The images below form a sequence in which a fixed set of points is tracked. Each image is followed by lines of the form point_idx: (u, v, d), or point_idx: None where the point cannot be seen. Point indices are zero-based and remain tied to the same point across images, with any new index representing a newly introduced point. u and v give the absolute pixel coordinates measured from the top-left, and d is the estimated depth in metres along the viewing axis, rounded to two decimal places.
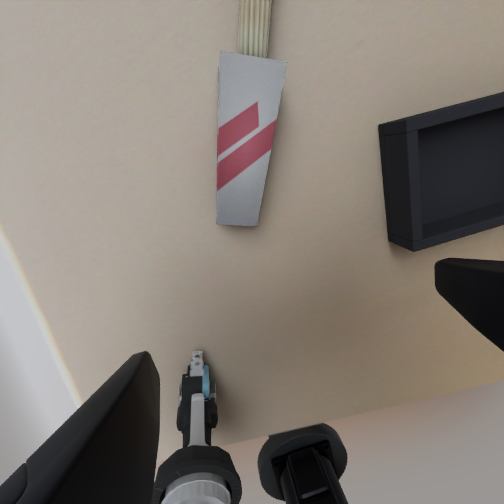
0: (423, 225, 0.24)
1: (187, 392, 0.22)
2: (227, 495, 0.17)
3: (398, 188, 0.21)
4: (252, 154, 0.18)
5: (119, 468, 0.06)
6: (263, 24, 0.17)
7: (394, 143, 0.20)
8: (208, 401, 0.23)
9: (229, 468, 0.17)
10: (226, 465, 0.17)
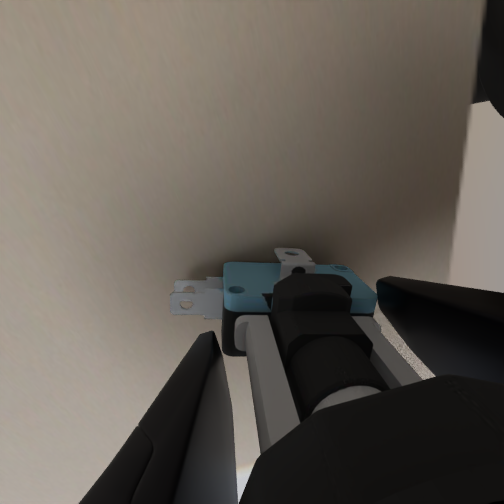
0: None
1: None
2: None
3: None
4: None
5: (216, 435, 0.06)
6: None
7: None
8: (273, 299, 0.08)
9: None
10: None
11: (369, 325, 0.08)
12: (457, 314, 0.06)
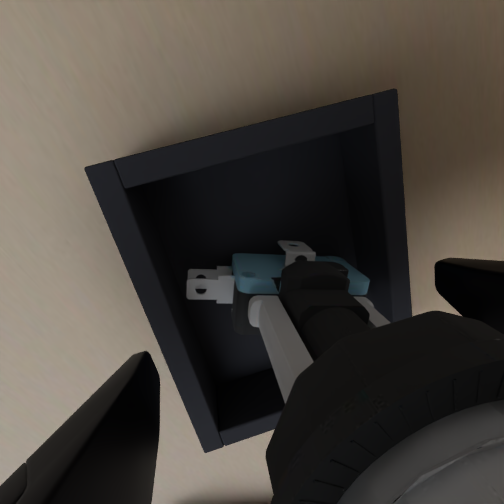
0: None
1: (250, 323, 0.10)
2: (502, 440, 0.03)
3: None
4: None
5: (119, 468, 0.06)
6: None
7: None
8: (282, 281, 0.09)
9: (355, 413, 0.03)
10: (335, 420, 0.03)
11: (364, 303, 0.09)
12: None
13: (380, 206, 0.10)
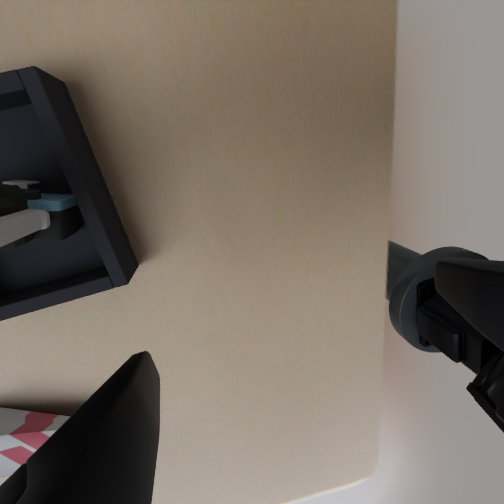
0: None
1: None
2: None
3: None
4: None
5: (119, 468, 0.06)
6: None
7: None
8: None
9: None
10: None
11: (33, 211, 0.14)
12: None
13: (52, 147, 0.14)
